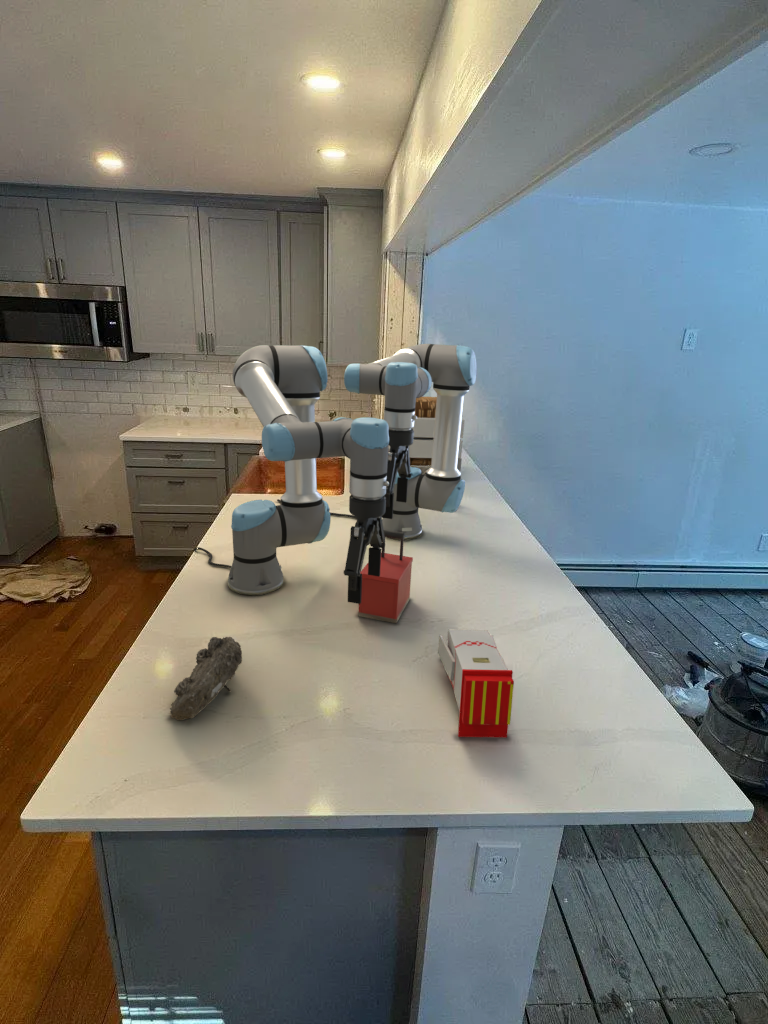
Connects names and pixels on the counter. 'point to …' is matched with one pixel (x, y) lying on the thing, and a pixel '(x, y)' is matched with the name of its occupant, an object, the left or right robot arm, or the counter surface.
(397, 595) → the chest
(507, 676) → the toy
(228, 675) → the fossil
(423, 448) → the white boxy piece
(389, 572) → the lid
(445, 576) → the counter surface
